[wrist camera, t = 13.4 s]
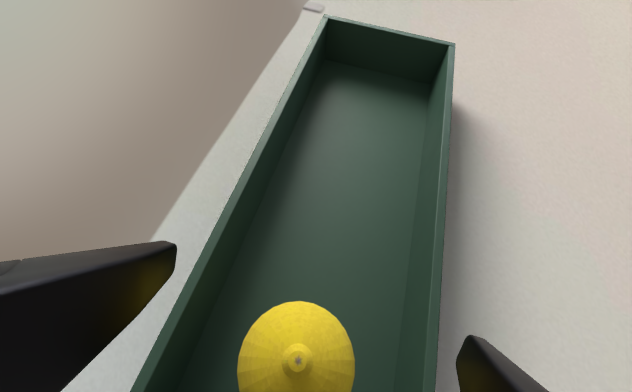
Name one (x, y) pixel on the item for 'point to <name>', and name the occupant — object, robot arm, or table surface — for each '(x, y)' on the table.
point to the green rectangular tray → (331, 217)
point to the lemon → (296, 352)
